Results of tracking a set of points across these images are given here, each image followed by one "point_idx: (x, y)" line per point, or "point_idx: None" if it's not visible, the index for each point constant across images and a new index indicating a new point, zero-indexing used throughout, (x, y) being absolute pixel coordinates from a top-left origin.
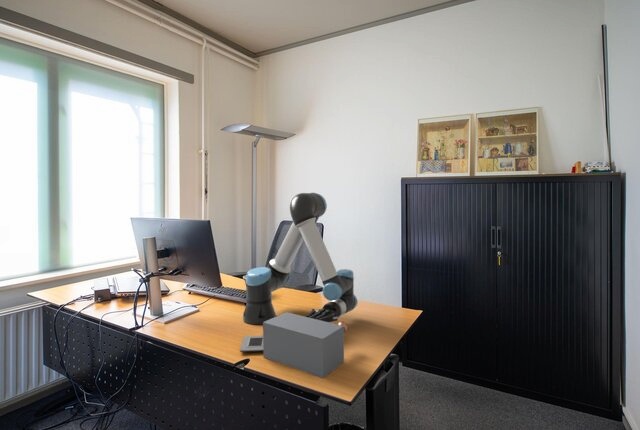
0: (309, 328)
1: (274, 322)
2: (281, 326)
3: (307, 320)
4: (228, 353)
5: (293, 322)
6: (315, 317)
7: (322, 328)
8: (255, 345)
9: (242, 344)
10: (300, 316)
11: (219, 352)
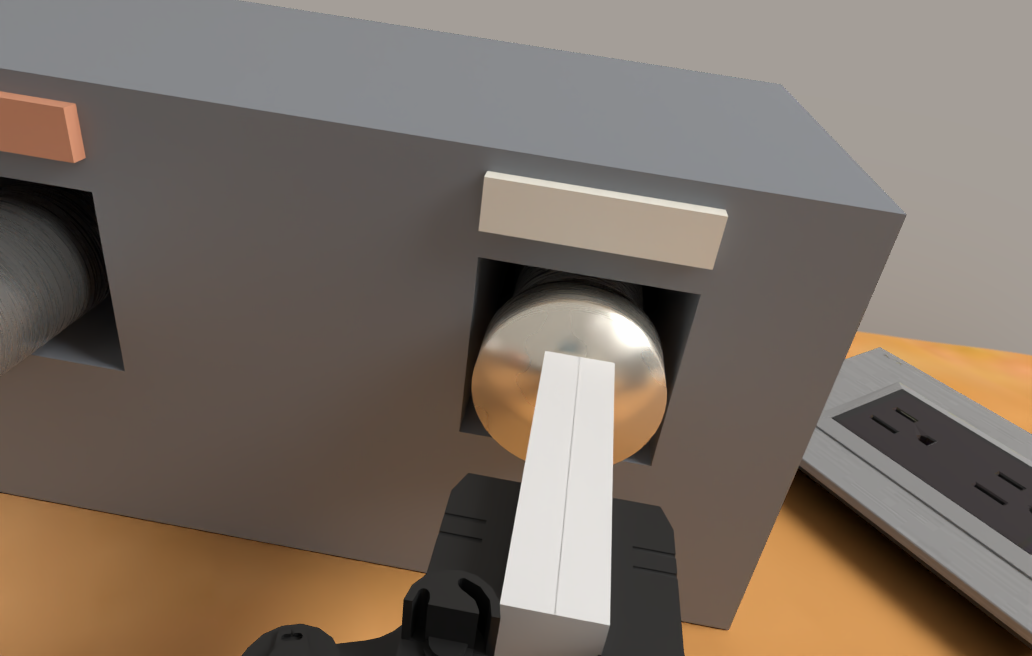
0: (251, 27)
1: (686, 81)
2: (552, 52)
3: (352, 91)
4: (945, 374)
5: (501, 75)
6: (410, 594)
7: (87, 19)
8: (872, 407)
9: (983, 410)
10: (536, 143)
11: (1004, 372)
